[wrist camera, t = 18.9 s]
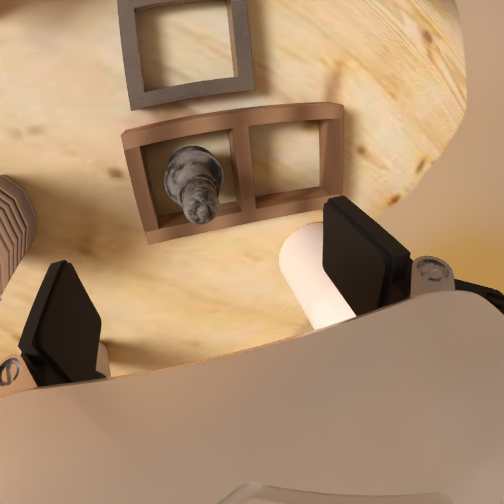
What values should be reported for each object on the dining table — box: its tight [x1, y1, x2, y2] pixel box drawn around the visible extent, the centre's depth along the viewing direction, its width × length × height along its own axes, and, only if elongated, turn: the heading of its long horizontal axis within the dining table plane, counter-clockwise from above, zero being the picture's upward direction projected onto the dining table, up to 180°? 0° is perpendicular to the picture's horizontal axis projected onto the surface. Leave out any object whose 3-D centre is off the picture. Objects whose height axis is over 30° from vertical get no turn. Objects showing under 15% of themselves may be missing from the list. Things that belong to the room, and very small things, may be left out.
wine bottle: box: [279, 223, 356, 330], centre depth 29 cm, size 10×10×30 cm
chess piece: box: [164, 146, 224, 225], centre depth 26 cm, size 6×6×12 cm
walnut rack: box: [121, 102, 344, 245], centre depth 31 cm, size 22×12×3 cm, turn 95°
